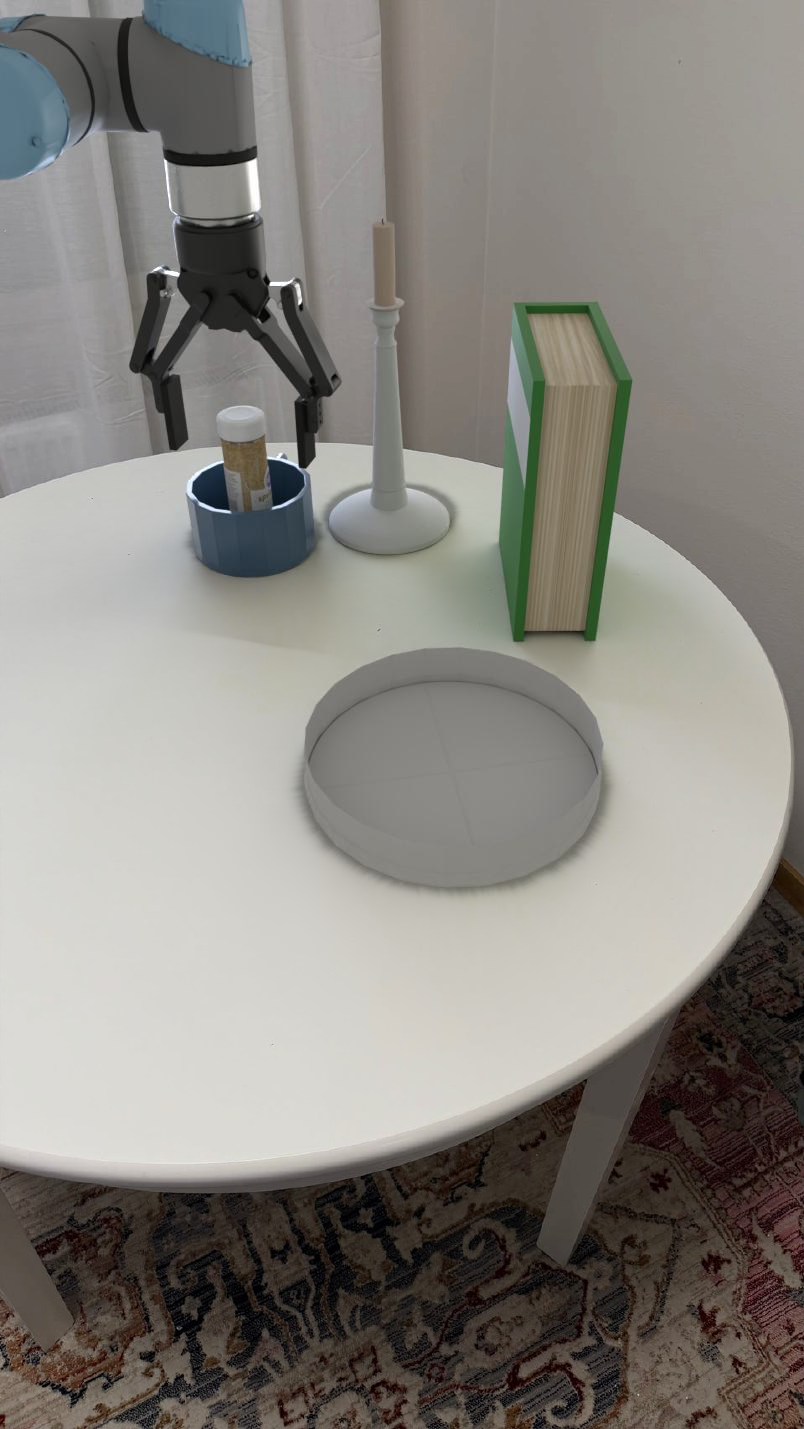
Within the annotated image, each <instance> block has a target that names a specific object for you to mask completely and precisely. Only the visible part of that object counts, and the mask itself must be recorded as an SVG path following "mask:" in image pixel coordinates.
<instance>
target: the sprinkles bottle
mask: <svg viewBox="0 0 804 1429" xmlns="http://www.w3.org/2000/svg"><path fill="white" fill-rule="evenodd" d="M215 418H216V419H215V420H216V428H217V430H216V431H217V435H218V437H219V439H220V444H221V451H222V459H223V461H224V472H225V479H226V487H227V494H228V501H229V508H230V511H235V512H241V511H257V510H263V509H267V508H271V507H273V502H272V493H271V483H270V475H269V467H268V462H267V461H268V460H267V457H268V453H267V452H268V451H267V444H266V432H267V426H266V425H267V424H266V416H265V413H264V411H263V410H261V409H260V408H259V407H256V406H252V405H234V406H229V407H227V408H224V409H221V411H219V412H218V413H217V415H216V417H215Z"/></svg>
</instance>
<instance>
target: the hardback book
mask: <svg viewBox="0 0 804 1429" xmlns="http://www.w3.org/2000/svg"><path fill="white" fill-rule="evenodd" d="M512 306H513V307H512V317H511V318H512V319H511V335H510V351H509V352H510V353H509V368H508V370H509V371H508V382H507V384H508V385H507V399H506V400H507V402H506V404H507V405H506V417H505V418H506V419H505V433H504V435H505V437H504V449H503V467H502V483H501V485H502V486H501V497H500V498H501V500H500V516H499V532H498V545H499V551H500V558H501V565H502V572H503V578H504V585H505V593H506V600H507V607H508V615H509V622H510V628H511V633H512V634H511V635H512V641H513V642H524V641H525V632H568V631H570V632H573V631H575V632H576V631H577V632H578V631H579V632H580V631H581V632H582V633H583V637H584V641H585V642H595V641H596V640H597V634H598V626H599V619H600V613H601V607H602V606H601V604H602V598H603V590H604V585H605V576H606V569H607V562H608V556H609V550H610V549H609V548H610V542H611V536H612V535H611V534H612V528H613V521H614V514H615V506H616V499H617V493H618V485H619V478H620V471H621V465H622V464H621V463H622V456H623V449H624V442H625V436H626V428H627V421H628V415H629V413H628V412H629V408H630V400H631V394H632V386H633V378H632V376H631V373H630V371H629V370H628V367H627V364H626V363H625V360H624V358H623V355H622V354H621V350H620V349H619V347H618V344H617V341H616V340H615V338H614V335H613V334H612V331H611V328H610V327H609V324H608V322H607V320H606V318H605V315H604V313H603V310H602V308H601V307H600V304H599V302H598V301H541V302H540V301H537V302H536V301H533V302H532V301H530V302H529V301H527V302H525V301H524V302H521V301H520V302H513V303H512Z"/></svg>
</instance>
